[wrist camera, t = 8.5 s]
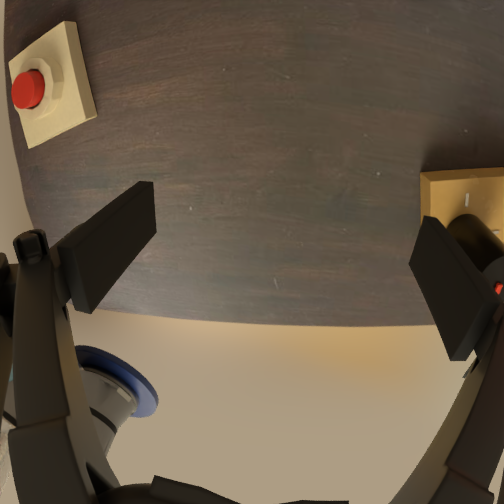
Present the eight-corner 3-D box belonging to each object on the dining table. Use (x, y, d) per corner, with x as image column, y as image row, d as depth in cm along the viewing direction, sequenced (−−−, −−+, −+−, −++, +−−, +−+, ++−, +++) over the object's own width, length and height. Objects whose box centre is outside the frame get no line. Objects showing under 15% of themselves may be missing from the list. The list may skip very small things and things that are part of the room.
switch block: (40, 144, 31) (18, 153, 27) (20, 61, 25) (-3, 64, 22) (97, 116, 29) (75, 122, 25) (76, 22, 23) (53, 19, 20)
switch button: (26, 111, 25) (15, 114, 24) (19, 80, 23) (8, 82, 22) (48, 97, 24) (37, 99, 23) (41, 64, 22) (30, 65, 21)
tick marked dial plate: (412, 275, 33) (420, 292, 30) (414, 172, 27) (425, 182, 24) (511, 259, 29) (523, 273, 27) (523, 166, 24) (539, 175, 21)
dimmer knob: (451, 209, 25) (492, 253, 18) (489, 218, 25) (531, 261, 18) (436, 254, 28) (467, 307, 21) (473, 260, 27) (507, 310, 20)
